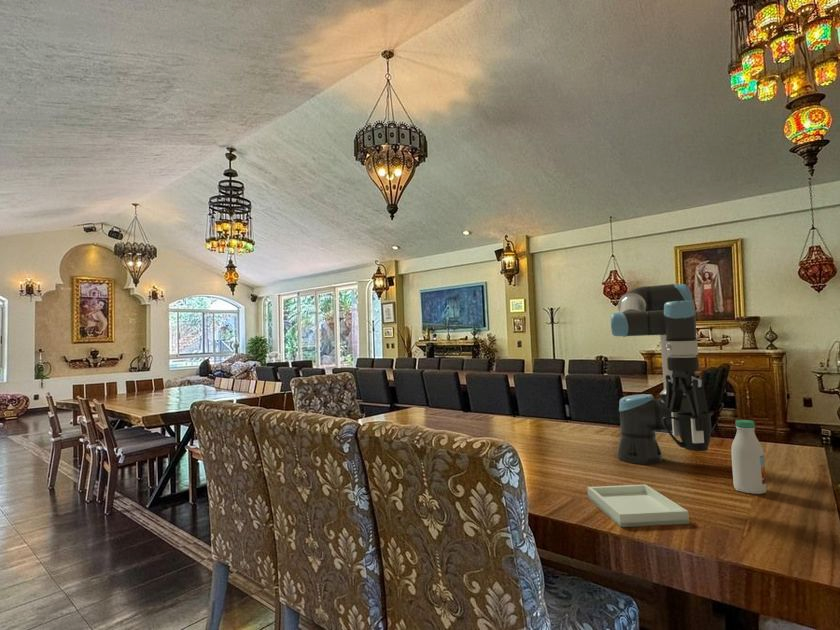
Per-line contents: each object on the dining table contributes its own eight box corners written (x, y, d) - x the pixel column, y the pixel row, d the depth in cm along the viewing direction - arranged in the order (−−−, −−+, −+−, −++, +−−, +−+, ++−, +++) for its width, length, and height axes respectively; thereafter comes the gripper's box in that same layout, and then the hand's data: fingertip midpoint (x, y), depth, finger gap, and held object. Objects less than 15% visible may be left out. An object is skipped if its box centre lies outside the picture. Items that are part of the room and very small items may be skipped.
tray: (646, 494, 129) (645, 484, 129) (689, 523, 109) (688, 511, 109) (588, 497, 129) (587, 487, 129) (620, 527, 109) (619, 514, 109)
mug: (660, 445, 128) (657, 412, 129) (706, 445, 126) (702, 411, 127) (669, 452, 120) (666, 416, 121) (719, 452, 118) (715, 415, 119)
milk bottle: (757, 496, 125) (752, 424, 126) (728, 489, 131) (723, 420, 132) (772, 491, 128) (766, 421, 129) (742, 484, 135) (737, 417, 136)
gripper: (648, 355, 135) (653, 431, 133) (693, 358, 114) (699, 449, 113) (673, 354, 135) (678, 430, 134) (721, 357, 114) (728, 447, 113)
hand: (687, 438), depth 123 cm, fingers closed on mug, 8 cm apart
